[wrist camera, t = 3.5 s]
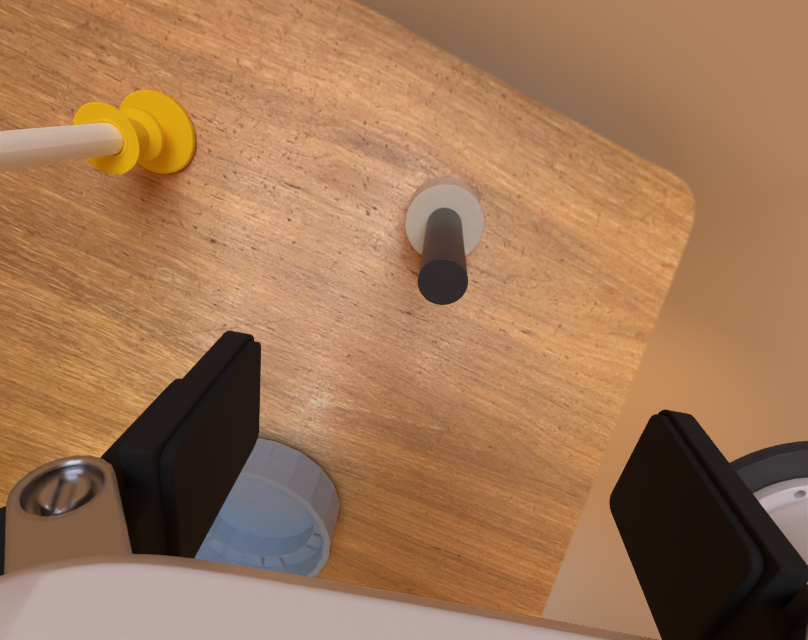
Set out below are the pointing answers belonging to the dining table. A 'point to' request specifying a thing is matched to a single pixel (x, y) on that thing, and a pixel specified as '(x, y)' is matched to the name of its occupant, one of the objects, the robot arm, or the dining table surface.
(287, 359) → the dining table surface
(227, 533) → the bowl
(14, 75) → the dining table surface
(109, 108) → the candle
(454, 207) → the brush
